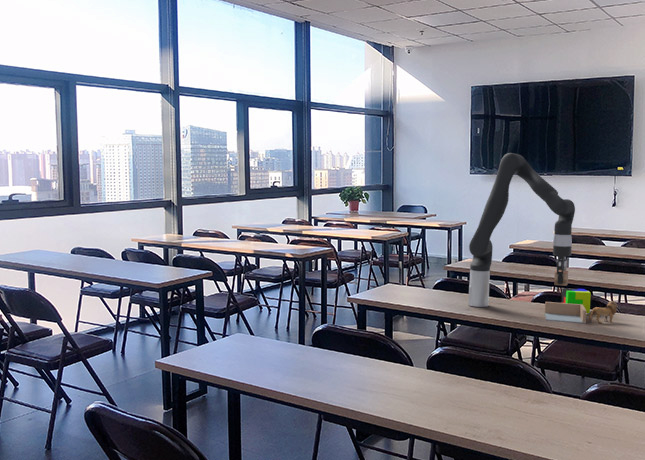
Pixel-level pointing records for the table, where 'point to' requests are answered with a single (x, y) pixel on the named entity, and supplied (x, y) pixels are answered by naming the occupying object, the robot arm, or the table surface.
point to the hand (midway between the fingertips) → (561, 282)
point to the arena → (565, 312)
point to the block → (565, 278)
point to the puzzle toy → (577, 297)
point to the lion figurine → (604, 312)
